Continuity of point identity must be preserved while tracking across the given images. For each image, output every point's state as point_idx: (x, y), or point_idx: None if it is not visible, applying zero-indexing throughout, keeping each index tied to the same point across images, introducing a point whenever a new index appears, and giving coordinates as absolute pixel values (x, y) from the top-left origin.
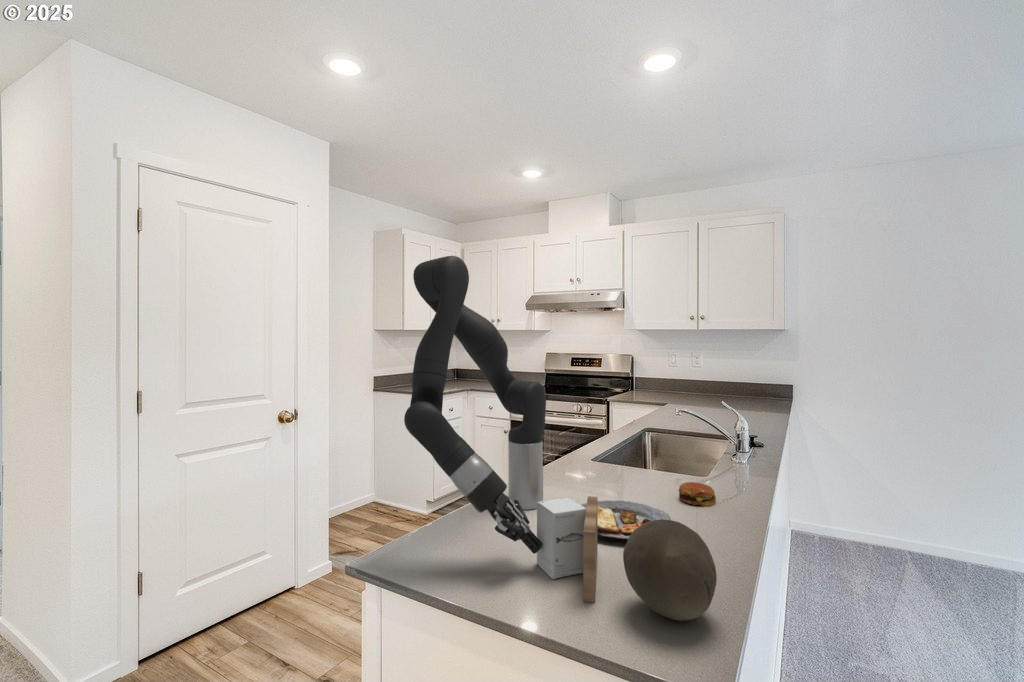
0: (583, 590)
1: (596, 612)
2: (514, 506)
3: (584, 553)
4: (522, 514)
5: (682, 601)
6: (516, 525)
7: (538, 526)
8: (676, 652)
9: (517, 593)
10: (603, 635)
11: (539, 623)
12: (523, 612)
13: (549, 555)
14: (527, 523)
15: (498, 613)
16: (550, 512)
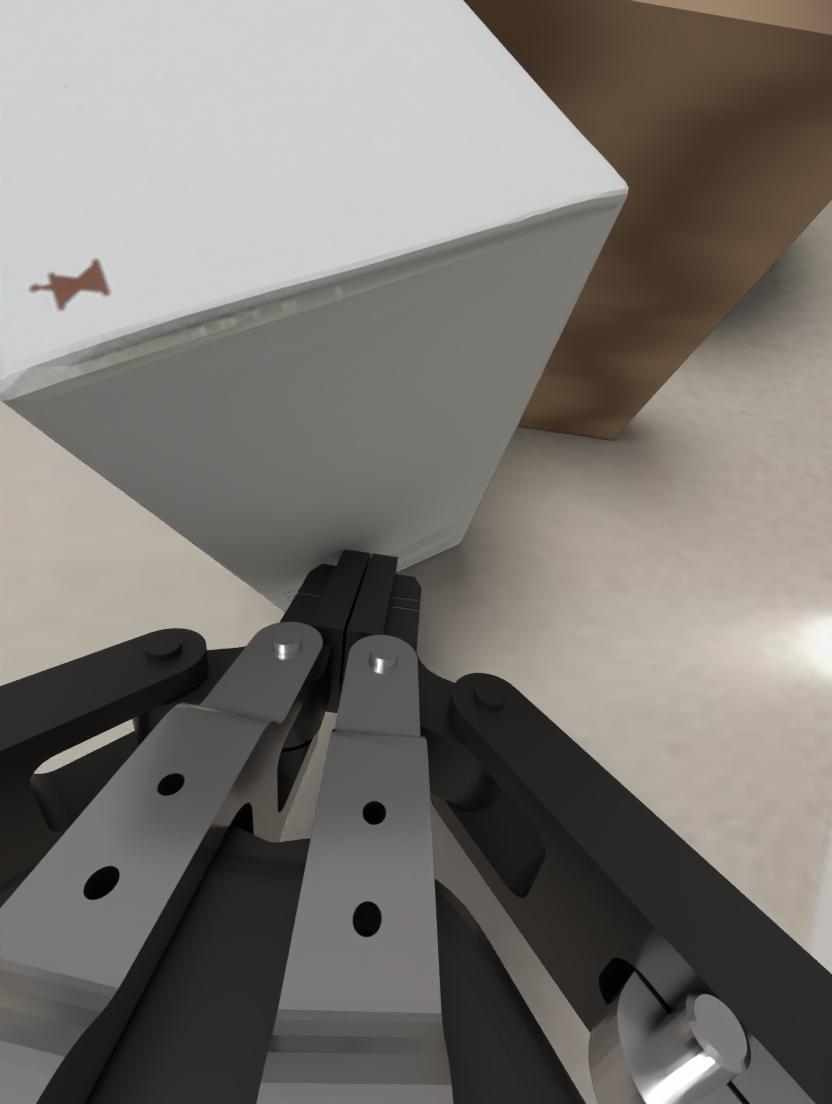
0: (635, 414)
1: (673, 408)
2: (28, 986)
3: (771, 257)
4: (162, 725)
5: None
6: (553, 800)
7: (251, 539)
8: (805, 257)
9: (604, 712)
10: (797, 406)
11: (805, 607)
12: (751, 676)
13: (445, 518)
14: (205, 653)
15: (794, 797)
16: (540, 237)
